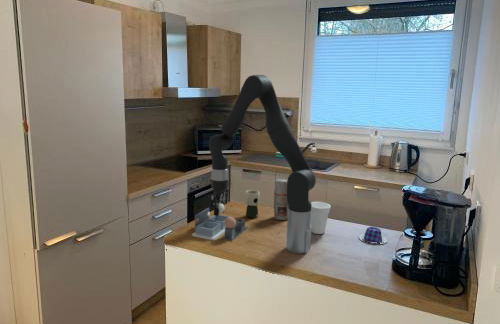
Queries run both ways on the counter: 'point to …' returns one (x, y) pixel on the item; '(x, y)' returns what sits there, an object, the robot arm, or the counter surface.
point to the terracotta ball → (230, 222)
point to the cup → (319, 216)
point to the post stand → (235, 230)
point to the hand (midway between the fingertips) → (219, 213)
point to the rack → (211, 228)
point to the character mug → (252, 203)
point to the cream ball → (221, 208)
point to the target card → (201, 217)
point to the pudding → (373, 235)
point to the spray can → (280, 200)
